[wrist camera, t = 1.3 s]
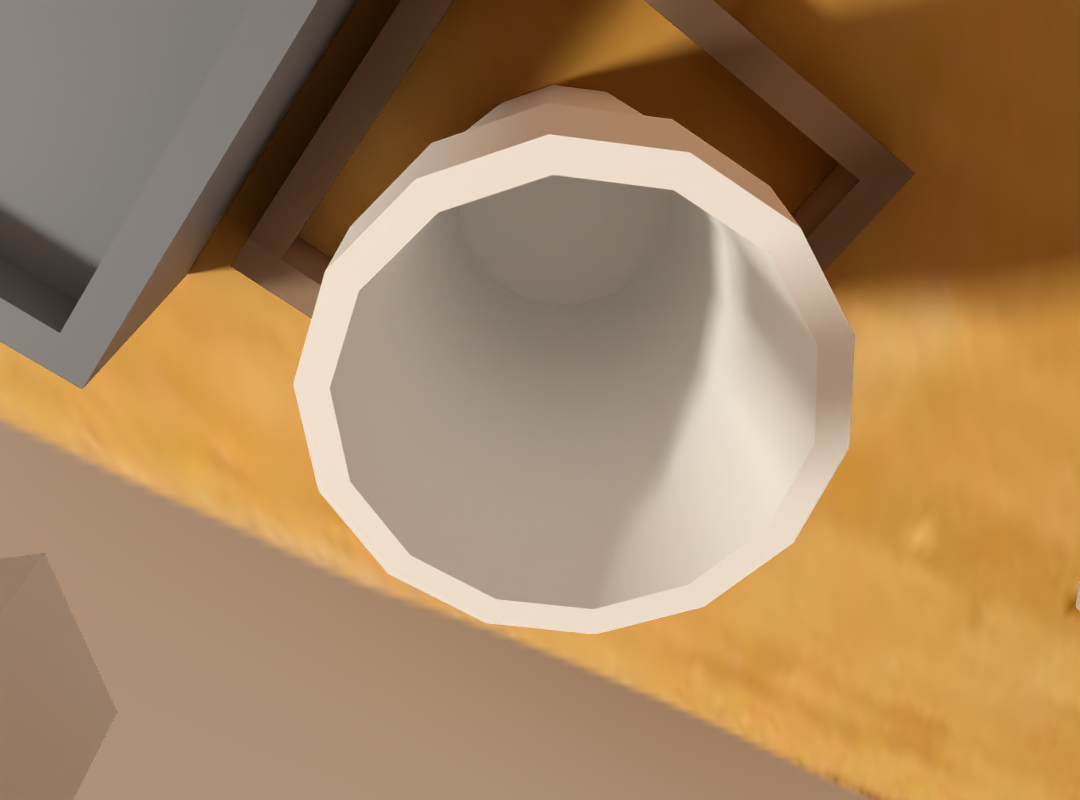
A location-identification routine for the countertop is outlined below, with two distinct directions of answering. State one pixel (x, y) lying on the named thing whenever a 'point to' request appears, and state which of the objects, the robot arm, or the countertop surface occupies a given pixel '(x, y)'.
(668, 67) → the countertop surface
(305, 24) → the charcoal stand
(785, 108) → the walnut collar
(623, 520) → the foam cup
